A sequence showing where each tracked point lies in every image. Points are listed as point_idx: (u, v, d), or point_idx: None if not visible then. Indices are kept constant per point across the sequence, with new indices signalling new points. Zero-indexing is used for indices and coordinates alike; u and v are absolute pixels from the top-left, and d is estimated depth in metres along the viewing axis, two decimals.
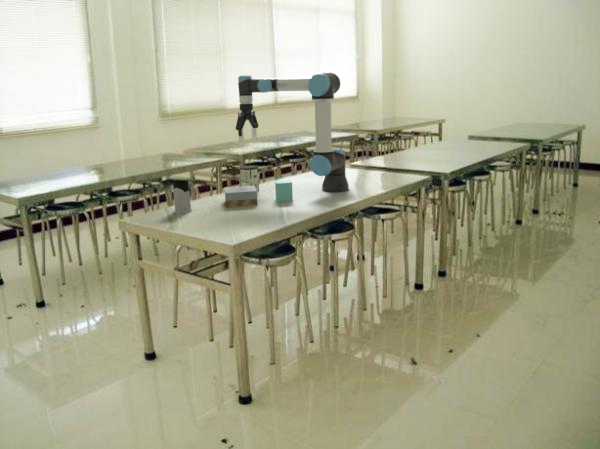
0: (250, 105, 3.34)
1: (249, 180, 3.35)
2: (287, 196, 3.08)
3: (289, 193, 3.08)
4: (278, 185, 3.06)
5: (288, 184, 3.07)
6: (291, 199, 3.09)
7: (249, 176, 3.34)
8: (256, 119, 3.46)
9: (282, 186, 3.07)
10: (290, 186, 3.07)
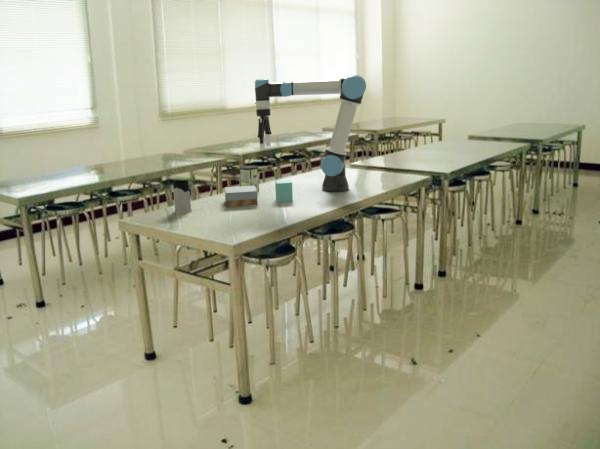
0: (269, 110, 3.17)
1: (249, 180, 3.35)
2: (287, 196, 3.08)
3: (289, 193, 3.08)
4: (278, 185, 3.06)
5: (288, 184, 3.07)
6: (291, 199, 3.09)
7: (249, 176, 3.34)
8: (269, 125, 3.28)
9: (282, 186, 3.07)
10: (290, 186, 3.07)
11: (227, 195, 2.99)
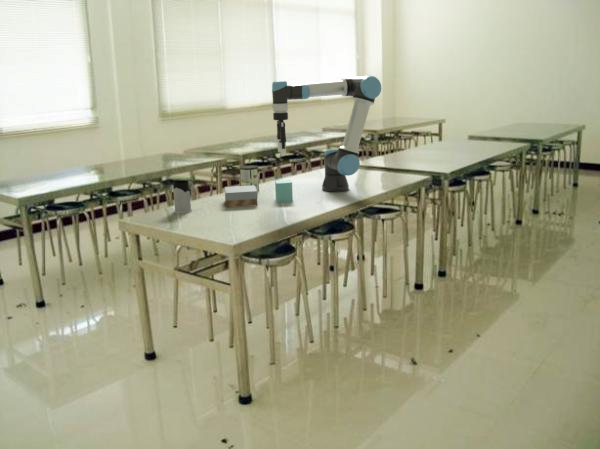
0: (287, 114, 3.01)
1: (249, 180, 3.35)
2: (287, 196, 3.08)
3: (289, 193, 3.08)
4: (278, 185, 3.06)
5: (288, 184, 3.07)
6: (291, 199, 3.09)
7: (249, 176, 3.34)
8: None
9: (282, 186, 3.07)
10: (290, 186, 3.07)
11: (227, 195, 2.99)
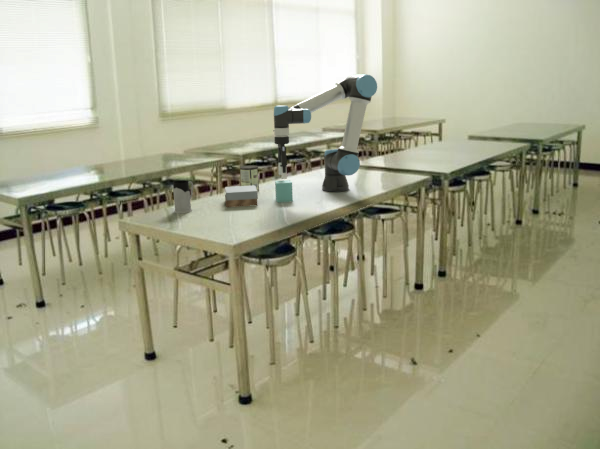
0: (288, 138, 3.04)
1: (249, 180, 3.35)
2: (287, 196, 3.08)
3: (289, 193, 3.08)
4: (278, 185, 3.06)
5: (288, 184, 3.07)
6: (291, 199, 3.09)
7: (249, 176, 3.34)
8: None
9: (282, 186, 3.07)
10: (290, 186, 3.07)
11: (227, 195, 2.99)
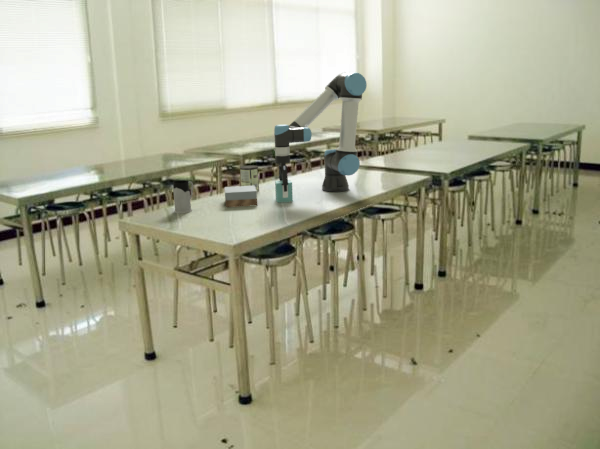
0: (289, 157, 3.07)
1: (249, 180, 3.35)
2: None
3: (289, 193, 3.08)
4: (278, 185, 3.06)
5: (288, 184, 3.07)
6: (291, 199, 3.09)
7: (249, 176, 3.34)
8: None
9: None
10: (290, 186, 3.07)
11: (226, 195, 2.99)
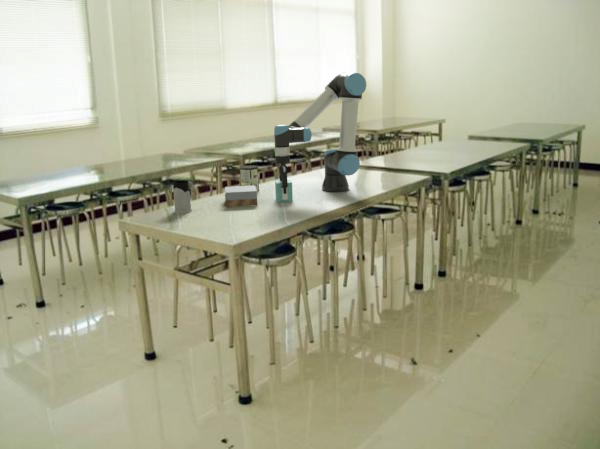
0: (289, 157, 3.07)
1: (249, 180, 3.35)
2: None
3: (289, 193, 3.08)
4: (278, 185, 3.06)
5: (288, 184, 3.07)
6: (291, 199, 3.09)
7: (249, 176, 3.34)
8: None
9: None
10: (290, 186, 3.07)
11: (227, 195, 2.99)
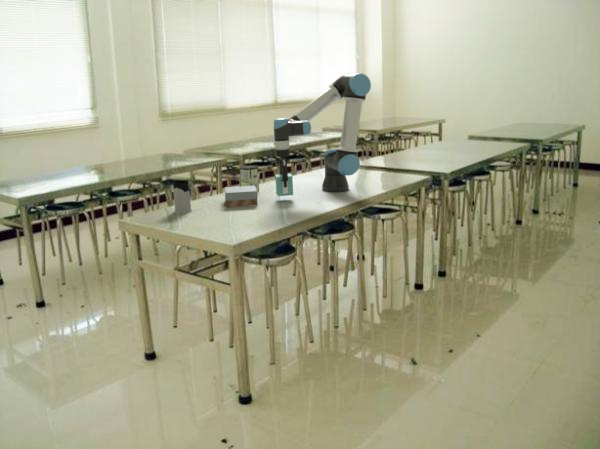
0: (289, 150, 3.06)
1: (249, 180, 3.35)
2: None
3: (290, 186, 3.07)
4: (278, 179, 3.05)
5: (288, 178, 3.06)
6: (291, 192, 3.08)
7: (249, 176, 3.34)
8: None
9: (282, 179, 3.06)
10: (290, 180, 3.07)
11: (227, 195, 2.99)
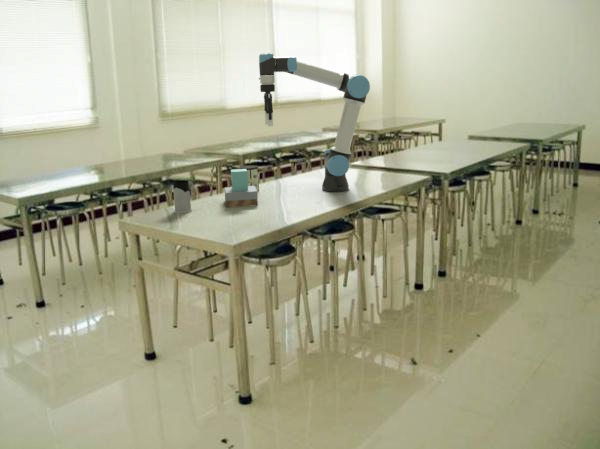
0: (274, 86, 3.08)
1: (249, 180, 3.35)
2: (242, 185, 3.03)
3: (244, 181, 3.03)
4: (233, 173, 3.01)
5: (243, 172, 3.01)
6: (246, 188, 3.03)
7: (249, 176, 3.34)
8: None
9: (236, 174, 3.01)
10: (245, 175, 3.02)
11: (227, 195, 2.99)
